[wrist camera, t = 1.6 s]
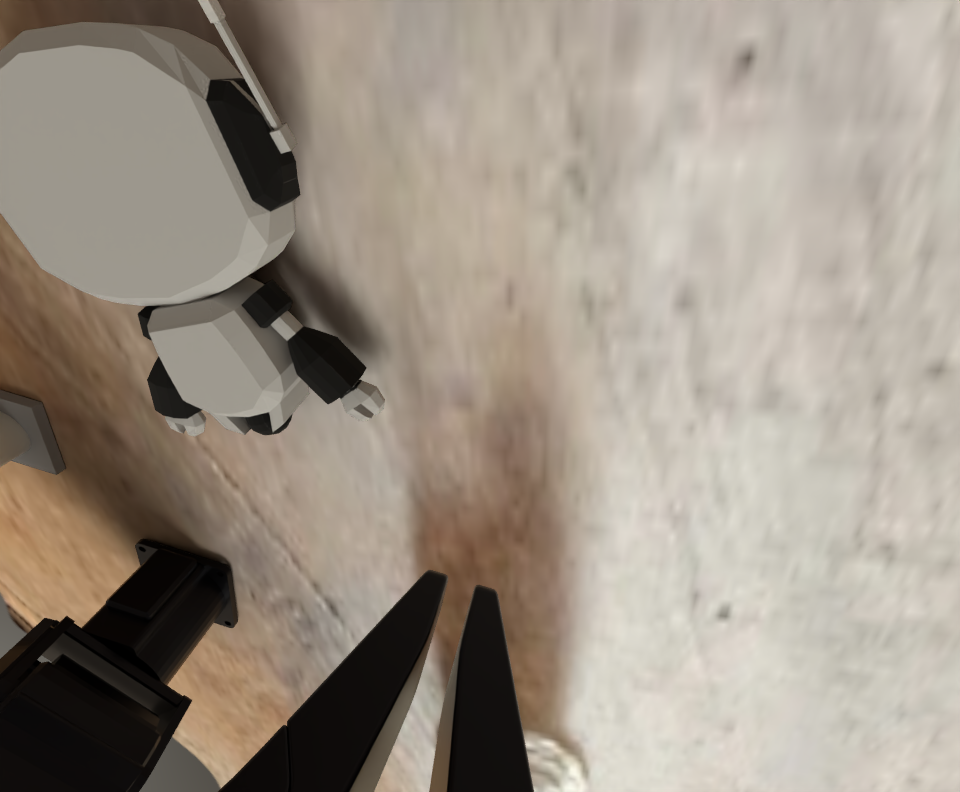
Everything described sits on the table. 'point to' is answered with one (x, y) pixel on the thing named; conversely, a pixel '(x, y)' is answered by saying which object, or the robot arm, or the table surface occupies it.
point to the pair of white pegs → (27, 434)
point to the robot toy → (169, 212)
